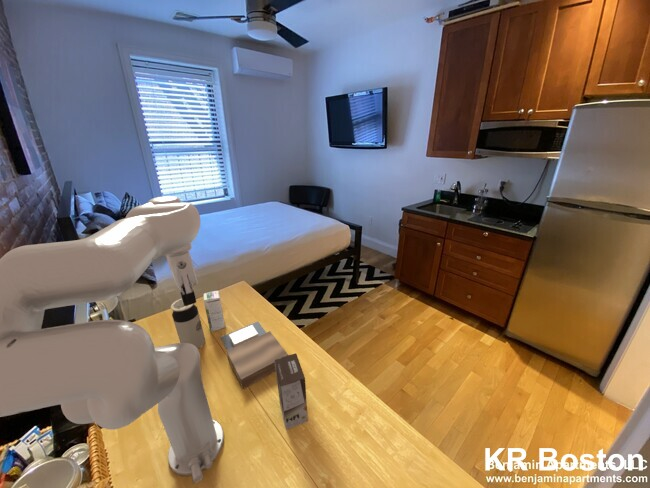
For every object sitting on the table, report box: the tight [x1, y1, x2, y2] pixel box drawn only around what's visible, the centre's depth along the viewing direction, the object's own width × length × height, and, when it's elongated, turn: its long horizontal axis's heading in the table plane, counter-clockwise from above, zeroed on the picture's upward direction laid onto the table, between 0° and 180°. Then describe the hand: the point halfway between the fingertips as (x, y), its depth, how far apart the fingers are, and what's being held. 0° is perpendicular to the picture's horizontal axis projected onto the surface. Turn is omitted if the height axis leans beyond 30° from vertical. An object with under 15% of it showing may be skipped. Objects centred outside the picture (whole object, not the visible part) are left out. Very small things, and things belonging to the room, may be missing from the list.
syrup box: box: [203, 290, 226, 332], centre depth 106 cm, size 6×6×14 cm
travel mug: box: [170, 298, 206, 350], centre depth 97 cm, size 8×8×18 cm
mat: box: [220, 321, 267, 351], centre depth 102 cm, size 12×15×1 cm
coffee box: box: [274, 353, 309, 430], centre depth 73 cm, size 9×6×16 cm
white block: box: [229, 325, 259, 347], centre depth 101 cm, size 6×9×2 cm, turn 126°
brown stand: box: [226, 330, 289, 390], centre depth 91 cm, size 14×16×4 cm
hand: (190, 303), depth 78 cm, fingers closed
